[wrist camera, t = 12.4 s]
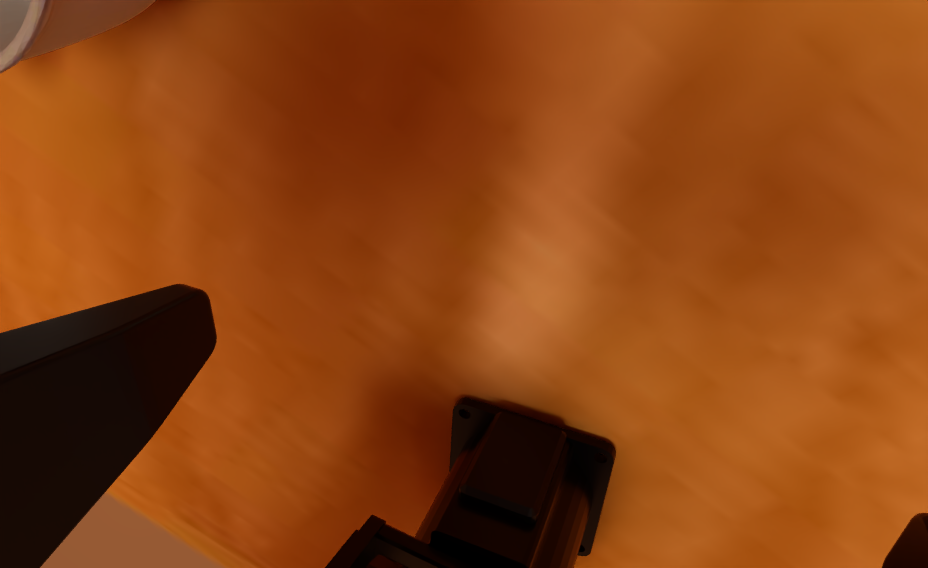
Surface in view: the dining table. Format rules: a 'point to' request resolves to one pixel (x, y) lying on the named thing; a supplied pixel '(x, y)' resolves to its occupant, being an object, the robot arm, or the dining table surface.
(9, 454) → the robot arm
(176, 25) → the dining table surface
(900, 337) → the dining table surface
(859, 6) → the dining table surface
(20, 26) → the teacup
